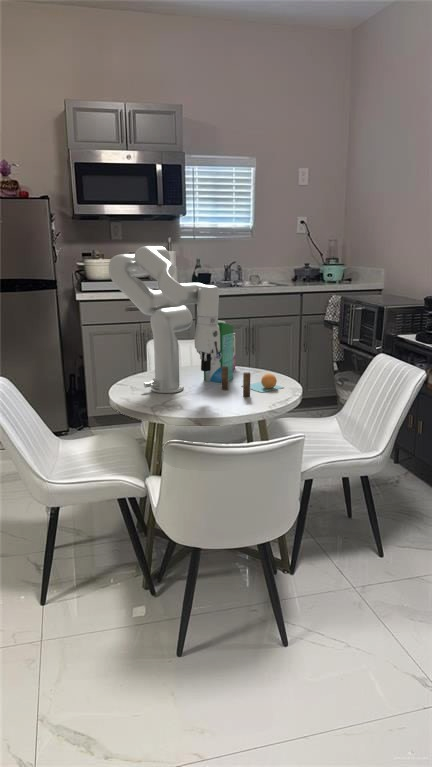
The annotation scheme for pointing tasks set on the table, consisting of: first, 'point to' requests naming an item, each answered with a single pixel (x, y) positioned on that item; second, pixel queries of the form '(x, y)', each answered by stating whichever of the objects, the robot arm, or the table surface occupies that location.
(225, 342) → the milk carton
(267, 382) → the ball
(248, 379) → the right post
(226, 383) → the left post
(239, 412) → the table surface
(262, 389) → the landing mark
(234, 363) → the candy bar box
